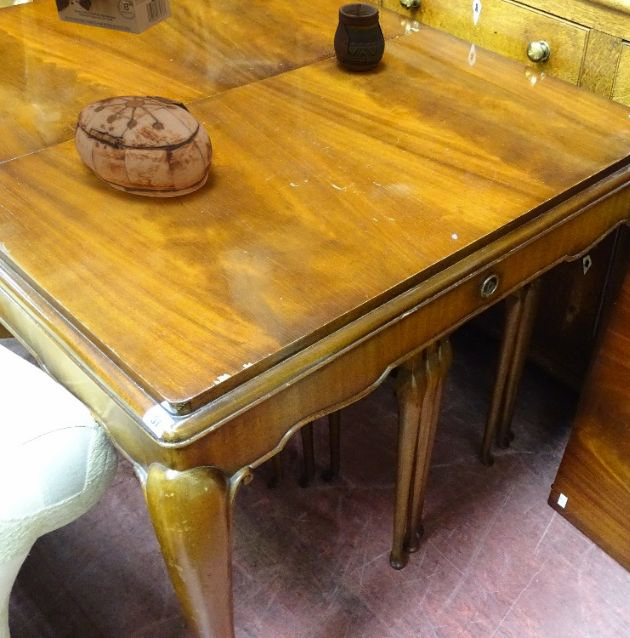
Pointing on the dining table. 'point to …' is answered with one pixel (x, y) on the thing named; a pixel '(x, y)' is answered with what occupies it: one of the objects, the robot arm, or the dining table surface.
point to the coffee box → (115, 13)
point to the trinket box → (144, 145)
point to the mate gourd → (359, 37)
